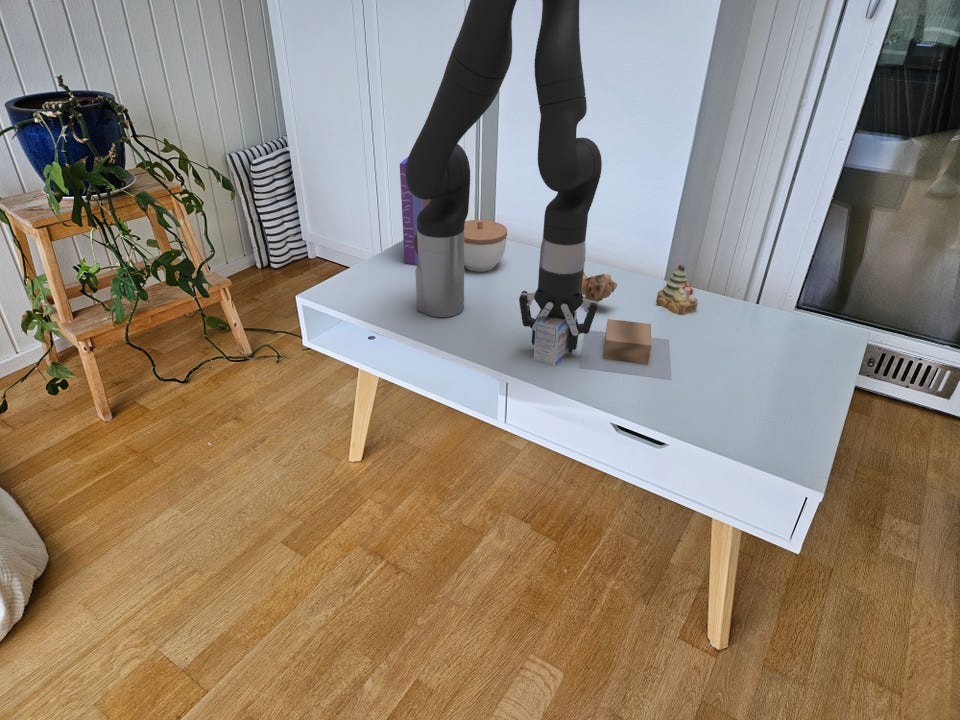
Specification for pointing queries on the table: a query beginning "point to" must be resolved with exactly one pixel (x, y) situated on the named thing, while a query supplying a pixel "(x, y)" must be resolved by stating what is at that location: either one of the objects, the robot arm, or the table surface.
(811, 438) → the table surface
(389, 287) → the table surface
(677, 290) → the ornament
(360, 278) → the table surface
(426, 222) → the robot arm
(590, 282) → the lion figurine
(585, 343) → the plate
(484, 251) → the lidded bowl
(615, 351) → the base brick
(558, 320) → the medicine box
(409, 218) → the cereal box
